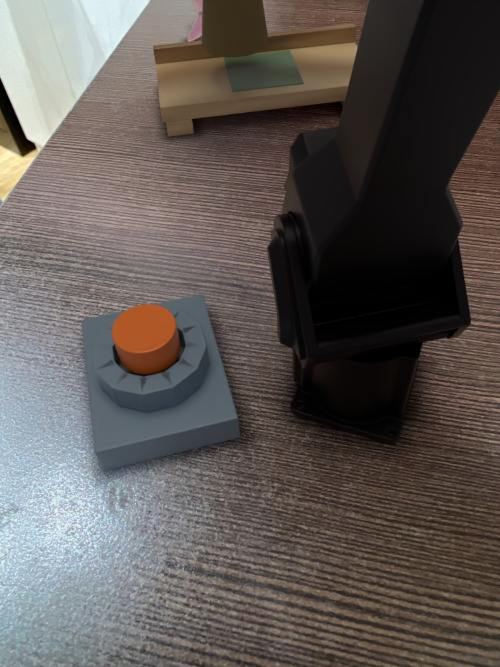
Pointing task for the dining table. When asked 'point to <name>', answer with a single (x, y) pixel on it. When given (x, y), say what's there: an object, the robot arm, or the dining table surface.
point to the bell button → (146, 339)
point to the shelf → (254, 75)
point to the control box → (158, 392)
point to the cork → (233, 27)
